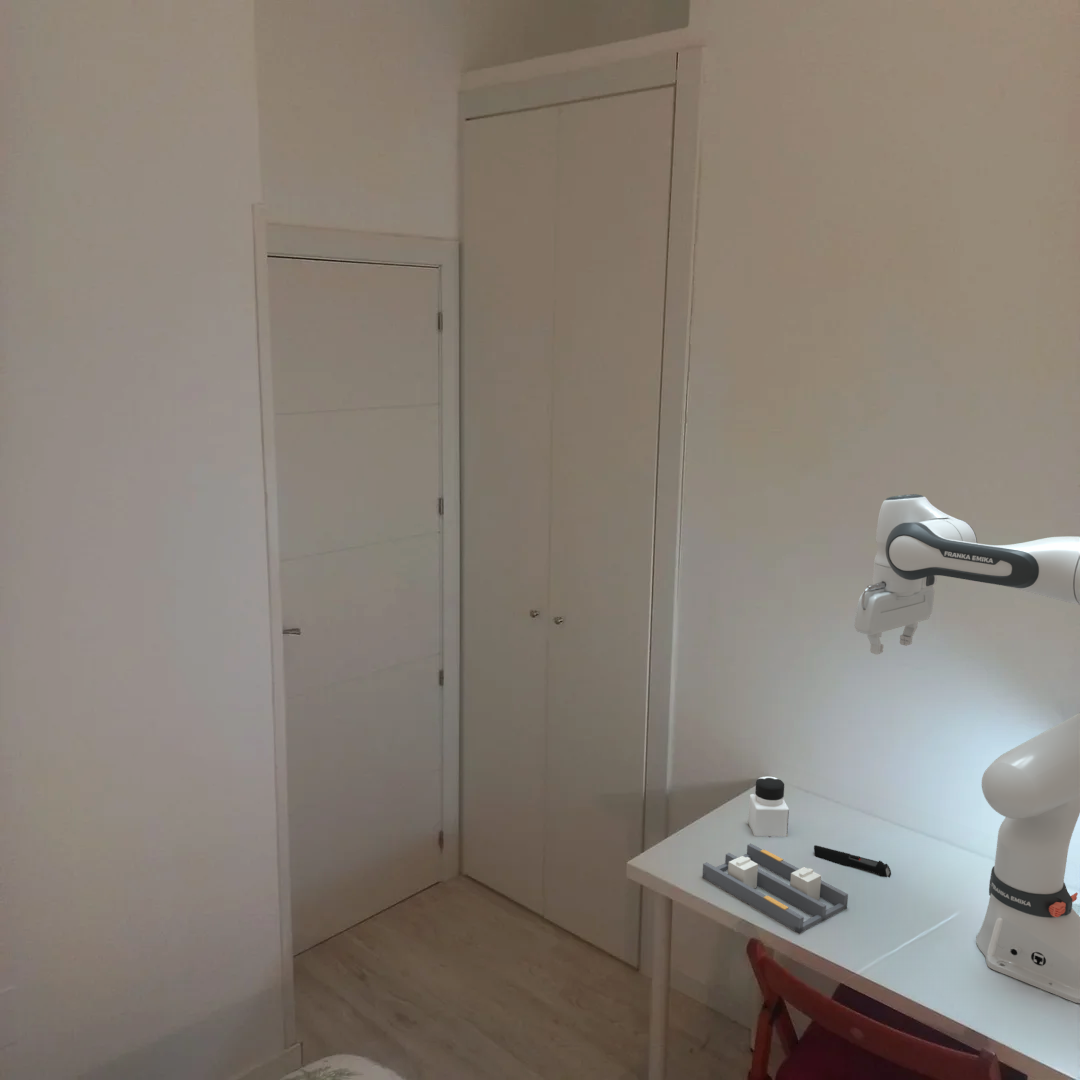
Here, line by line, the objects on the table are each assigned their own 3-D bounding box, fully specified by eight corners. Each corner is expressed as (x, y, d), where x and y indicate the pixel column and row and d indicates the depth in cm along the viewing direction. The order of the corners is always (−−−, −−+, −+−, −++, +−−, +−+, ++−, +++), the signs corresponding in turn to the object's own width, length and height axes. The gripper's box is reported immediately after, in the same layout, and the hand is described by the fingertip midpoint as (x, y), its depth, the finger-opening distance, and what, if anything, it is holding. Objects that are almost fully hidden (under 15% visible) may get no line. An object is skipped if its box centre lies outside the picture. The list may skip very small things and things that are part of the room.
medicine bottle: (787, 839, 222) (790, 787, 219) (754, 839, 222) (757, 787, 219) (779, 823, 229) (782, 773, 226) (747, 823, 229) (750, 773, 226)
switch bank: (846, 911, 194) (848, 893, 194) (798, 936, 186) (800, 917, 185) (749, 859, 213) (750, 842, 212) (702, 880, 205) (703, 862, 204)
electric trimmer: (816, 854, 217) (817, 840, 216) (891, 874, 208) (892, 860, 208) (810, 862, 213) (811, 848, 213) (887, 883, 205) (888, 868, 205)
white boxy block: (756, 887, 201) (758, 861, 200) (742, 894, 199) (744, 867, 197) (741, 878, 204) (742, 853, 203) (727, 885, 202) (728, 859, 201)
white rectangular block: (819, 899, 197) (821, 872, 196) (806, 906, 195) (808, 879, 194) (802, 890, 200) (804, 864, 199) (789, 896, 198) (791, 870, 197)
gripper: (878, 589, 185) (872, 663, 188) (942, 574, 198) (935, 643, 200) (849, 582, 190) (843, 654, 193) (913, 568, 203) (907, 635, 205)
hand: (891, 648), depth 197 cm, fingers open, 8 cm apart
